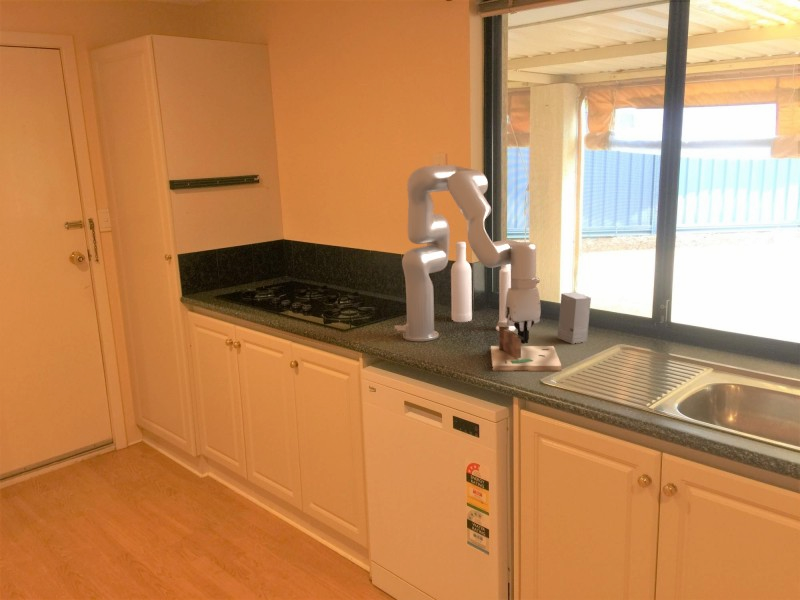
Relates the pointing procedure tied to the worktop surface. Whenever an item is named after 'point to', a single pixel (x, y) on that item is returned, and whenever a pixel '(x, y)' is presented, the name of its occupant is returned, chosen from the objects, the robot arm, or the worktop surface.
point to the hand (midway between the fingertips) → (523, 342)
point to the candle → (504, 293)
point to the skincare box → (574, 317)
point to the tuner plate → (527, 359)
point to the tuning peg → (509, 340)
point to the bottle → (461, 286)
